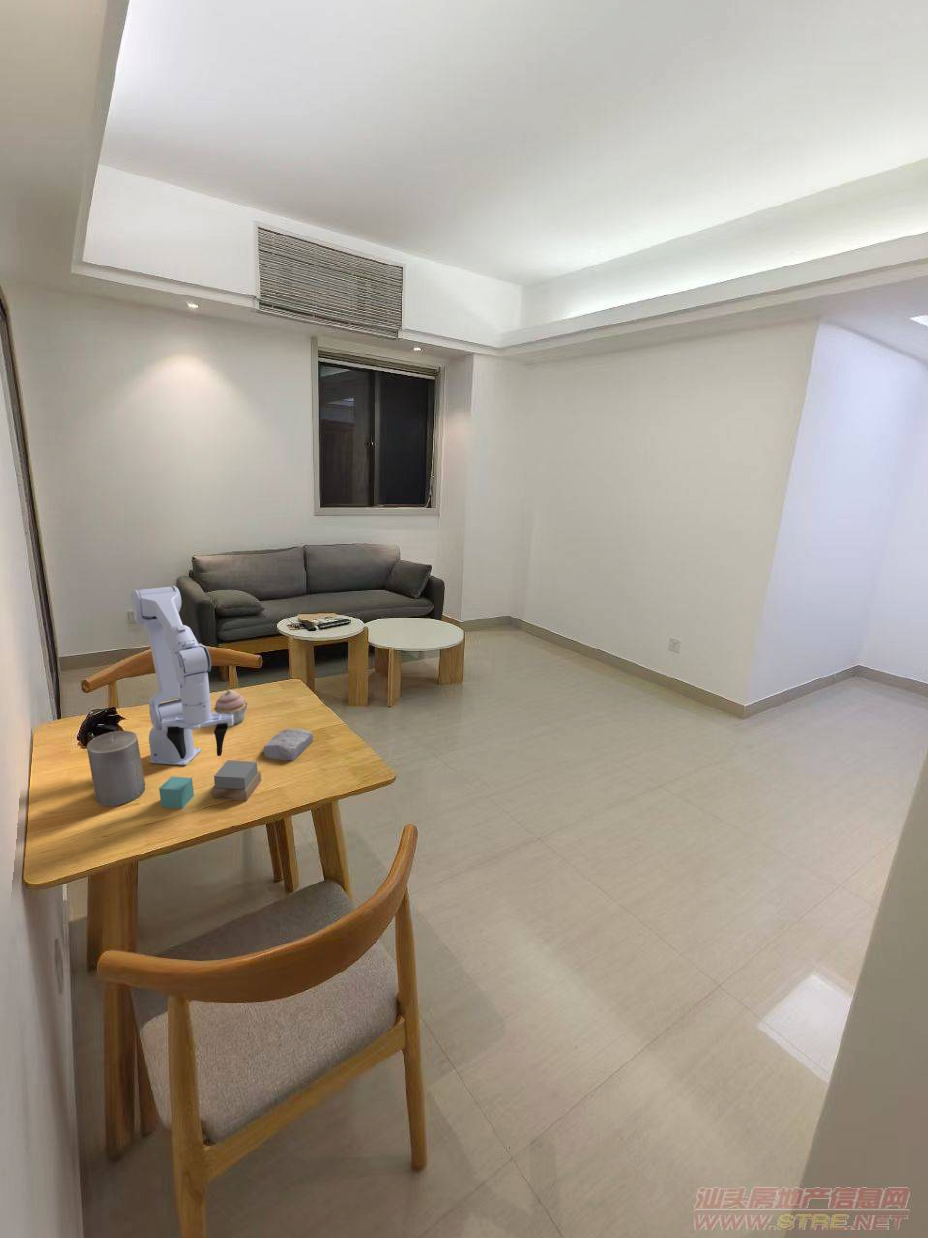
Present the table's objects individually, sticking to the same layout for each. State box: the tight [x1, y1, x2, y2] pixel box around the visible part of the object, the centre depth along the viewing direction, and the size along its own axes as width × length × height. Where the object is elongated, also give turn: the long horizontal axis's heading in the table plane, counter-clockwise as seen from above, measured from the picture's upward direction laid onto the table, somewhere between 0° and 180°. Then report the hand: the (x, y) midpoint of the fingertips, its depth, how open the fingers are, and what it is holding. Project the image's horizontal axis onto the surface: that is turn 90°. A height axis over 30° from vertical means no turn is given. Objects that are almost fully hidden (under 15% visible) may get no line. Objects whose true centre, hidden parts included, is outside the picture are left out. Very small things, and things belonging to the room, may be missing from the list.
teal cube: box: [158, 775, 195, 809], centre depth 124 cm, size 5×5×5 cm
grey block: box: [213, 759, 259, 790], centre depth 129 cm, size 7×7×3 cm
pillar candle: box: [86, 730, 146, 807], centre depth 125 cm, size 10×10×15 cm
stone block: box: [263, 728, 314, 762], centre depth 149 cm, size 12×5×10 cm
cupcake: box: [213, 689, 249, 726], centre depth 161 cm, size 9×9×10 cm
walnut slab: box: [211, 771, 262, 802], centre depth 130 cm, size 8×8×3 cm
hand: (201, 755), depth 126 cm, fingers open, 7 cm apart
